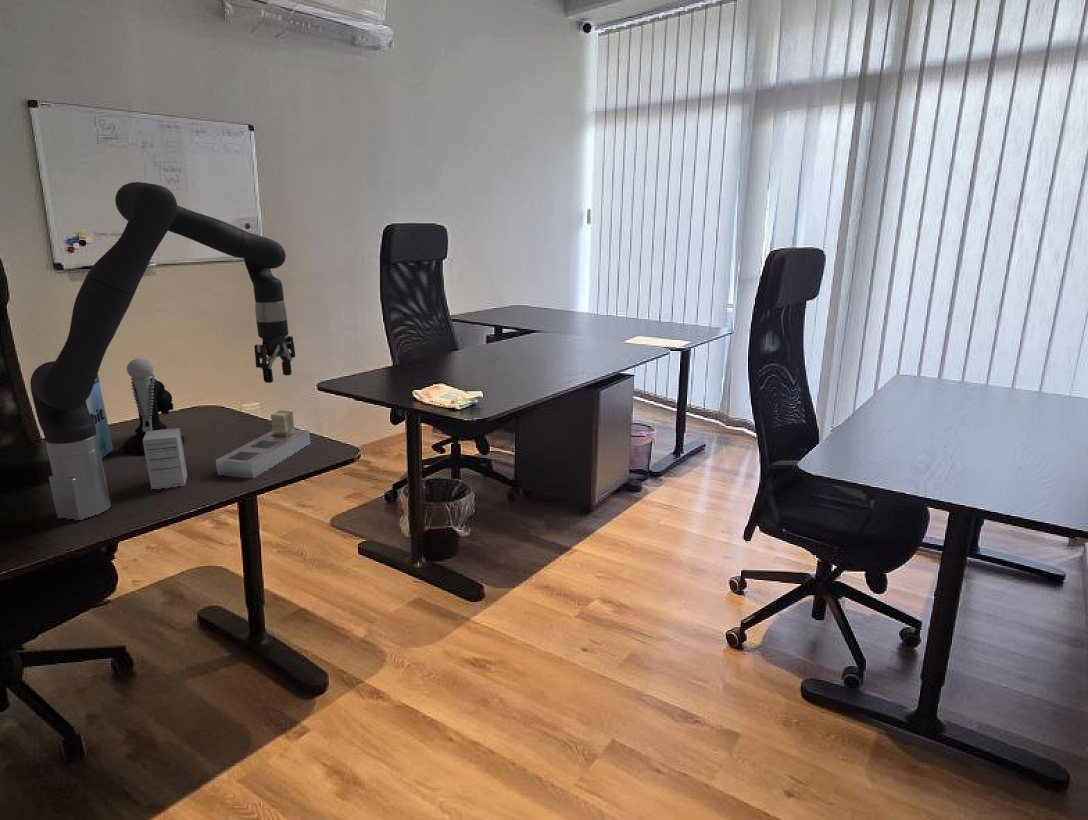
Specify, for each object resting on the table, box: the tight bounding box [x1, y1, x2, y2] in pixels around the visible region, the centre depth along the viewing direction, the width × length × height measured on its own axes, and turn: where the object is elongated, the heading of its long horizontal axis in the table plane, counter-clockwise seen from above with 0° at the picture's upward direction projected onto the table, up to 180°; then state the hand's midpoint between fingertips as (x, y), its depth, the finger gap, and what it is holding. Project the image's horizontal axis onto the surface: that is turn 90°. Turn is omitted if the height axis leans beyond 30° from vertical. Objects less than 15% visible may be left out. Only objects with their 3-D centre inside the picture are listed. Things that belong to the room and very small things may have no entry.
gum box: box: [86, 373, 114, 459], centre depth 180 cm, size 20×5×23 cm, turn 8°
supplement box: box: [143, 427, 188, 491], centre depth 168 cm, size 7×7×13 cm
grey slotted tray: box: [215, 429, 311, 479], centre depth 185 cm, size 26×10×4 cm, turn 167°
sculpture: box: [121, 358, 185, 456], centre depth 196 cm, size 15×24×25 cm, turn 15°
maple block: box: [270, 410, 296, 438], centre depth 192 cm, size 4×4×10 cm
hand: (278, 378), depth 188 cm, fingers open, 8 cm apart
